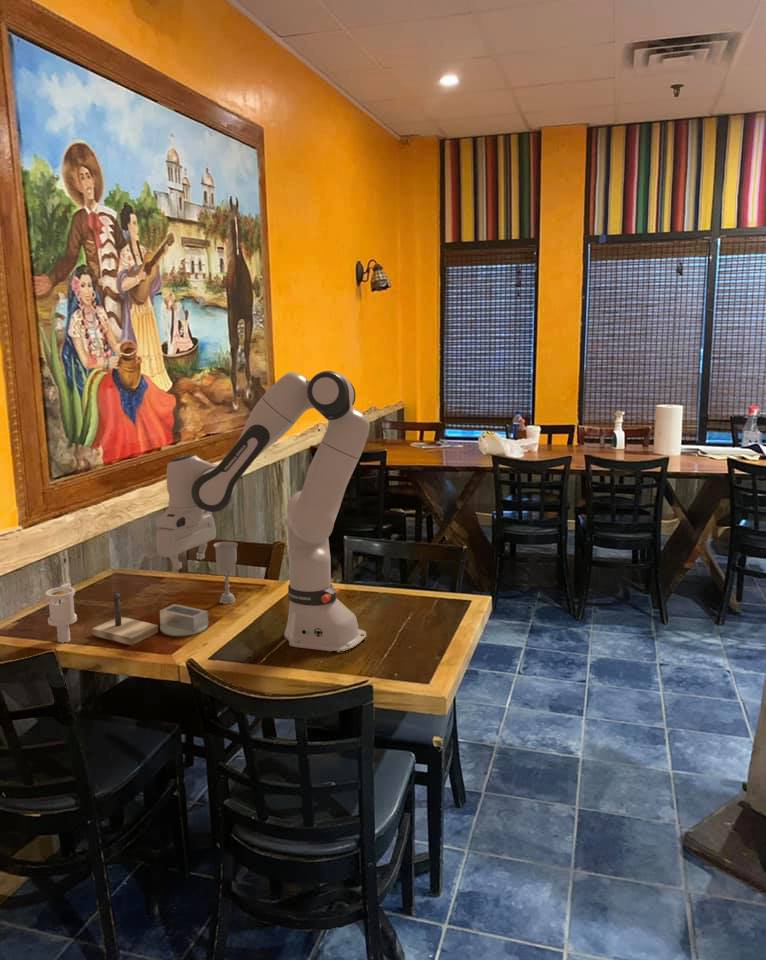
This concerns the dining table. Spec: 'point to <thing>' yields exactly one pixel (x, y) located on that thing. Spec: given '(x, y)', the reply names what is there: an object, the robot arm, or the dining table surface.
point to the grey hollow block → (184, 617)
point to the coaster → (178, 631)
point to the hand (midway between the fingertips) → (189, 563)
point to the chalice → (226, 565)
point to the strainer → (62, 611)
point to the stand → (124, 627)
